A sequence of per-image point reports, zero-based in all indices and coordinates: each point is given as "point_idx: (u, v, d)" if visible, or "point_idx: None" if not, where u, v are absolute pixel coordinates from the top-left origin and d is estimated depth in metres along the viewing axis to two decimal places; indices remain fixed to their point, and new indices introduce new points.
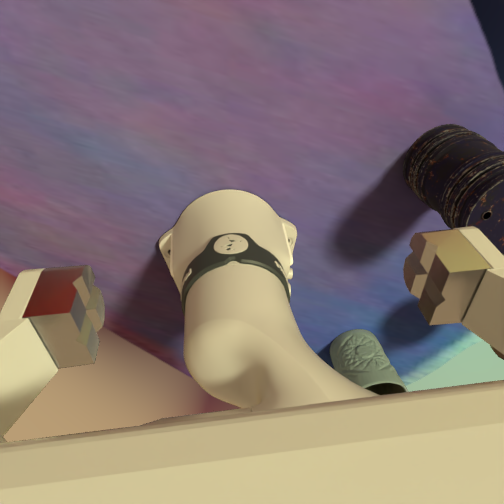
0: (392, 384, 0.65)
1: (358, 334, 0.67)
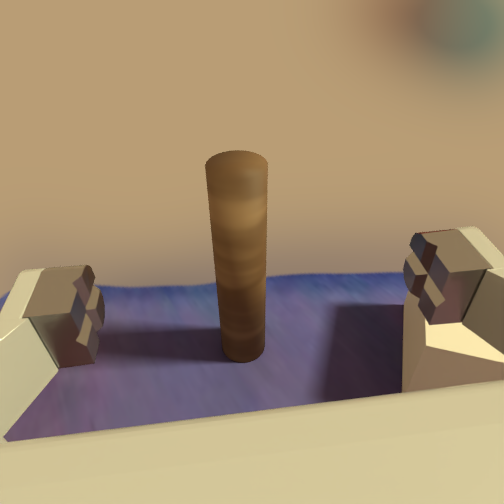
0: None
1: None
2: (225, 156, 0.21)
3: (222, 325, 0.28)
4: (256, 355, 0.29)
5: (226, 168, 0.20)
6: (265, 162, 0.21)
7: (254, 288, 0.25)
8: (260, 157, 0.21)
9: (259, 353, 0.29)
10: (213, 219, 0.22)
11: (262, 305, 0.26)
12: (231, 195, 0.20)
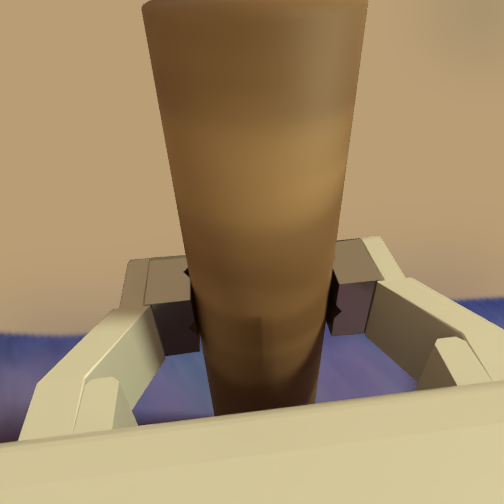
0: None
1: None
2: None
3: None
4: None
5: (217, 6, 0.05)
6: None
7: (299, 379, 0.10)
8: None
9: None
10: (183, 202, 0.07)
11: None
12: (241, 99, 0.05)
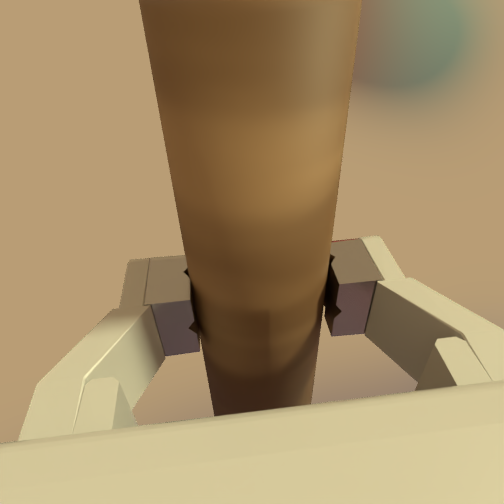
0: None
1: None
2: None
3: None
4: None
5: None
6: None
7: (296, 370, 0.10)
8: None
9: None
10: (180, 193, 0.07)
11: (309, 395, 0.12)
12: (238, 88, 0.05)
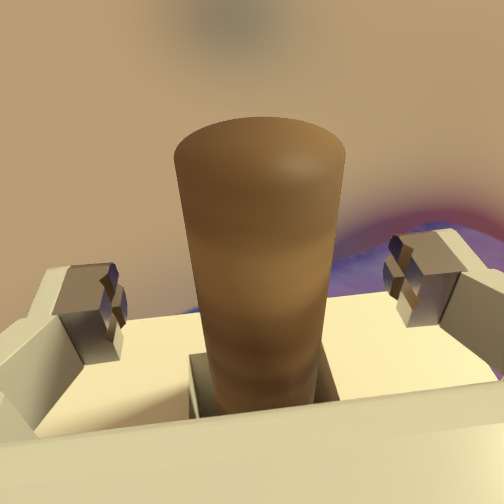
0: None
1: None
2: (228, 130, 0.08)
3: None
4: None
5: (231, 160, 0.07)
6: (336, 142, 0.08)
7: None
8: (319, 130, 0.08)
9: None
10: (202, 291, 0.09)
11: None
12: (250, 237, 0.07)
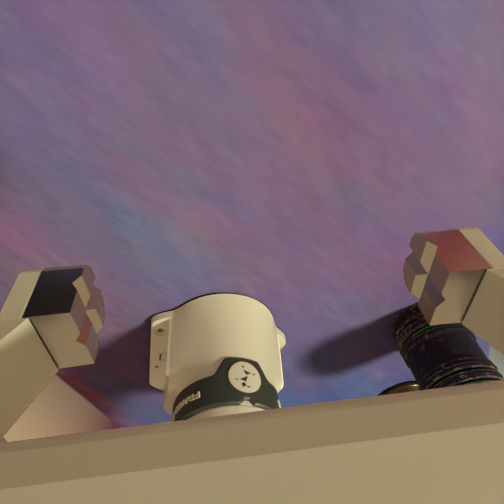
0: None
1: None
2: None
3: None
4: None
5: None
6: None
7: None
8: None
9: None
10: None
11: None
12: None
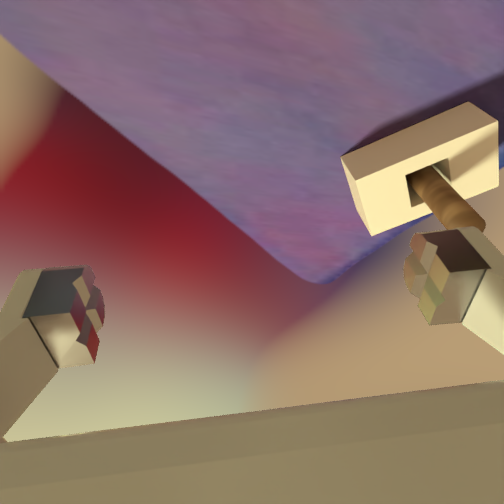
0: None
1: None
2: None
3: None
4: None
5: (474, 225, 0.40)
6: None
7: (426, 183, 0.46)
8: None
9: None
10: None
11: (414, 179, 0.48)
12: (467, 212, 0.40)
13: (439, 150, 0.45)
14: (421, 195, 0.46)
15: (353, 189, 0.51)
